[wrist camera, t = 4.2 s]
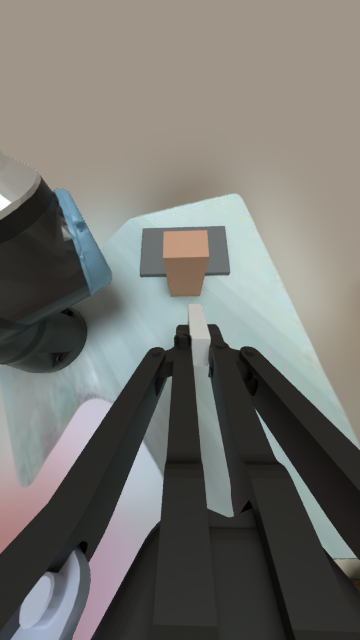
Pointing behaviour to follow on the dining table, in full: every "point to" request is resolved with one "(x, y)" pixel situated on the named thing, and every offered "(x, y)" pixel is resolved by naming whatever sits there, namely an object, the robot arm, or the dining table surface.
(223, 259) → the rubber mat
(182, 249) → the tall block
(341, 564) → the condiment
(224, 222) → the dining table surface
